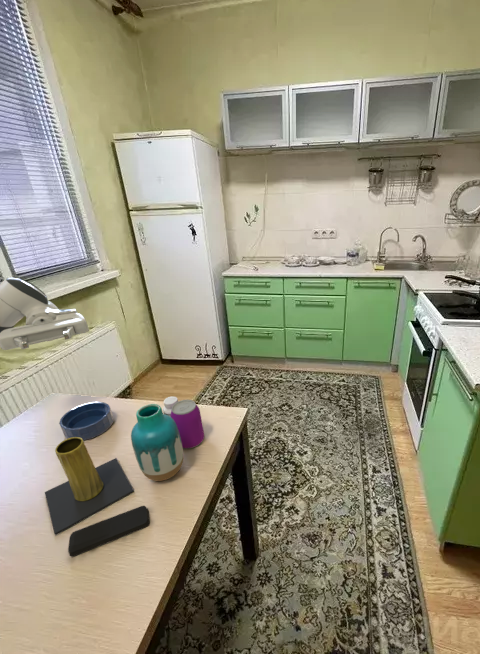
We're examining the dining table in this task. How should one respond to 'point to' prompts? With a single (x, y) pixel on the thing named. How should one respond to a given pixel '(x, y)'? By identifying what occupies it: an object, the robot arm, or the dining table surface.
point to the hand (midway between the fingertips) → (46, 341)
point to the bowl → (87, 420)
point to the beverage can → (188, 423)
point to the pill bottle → (169, 405)
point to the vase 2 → (156, 443)
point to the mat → (73, 511)
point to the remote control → (108, 530)
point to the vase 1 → (79, 468)
